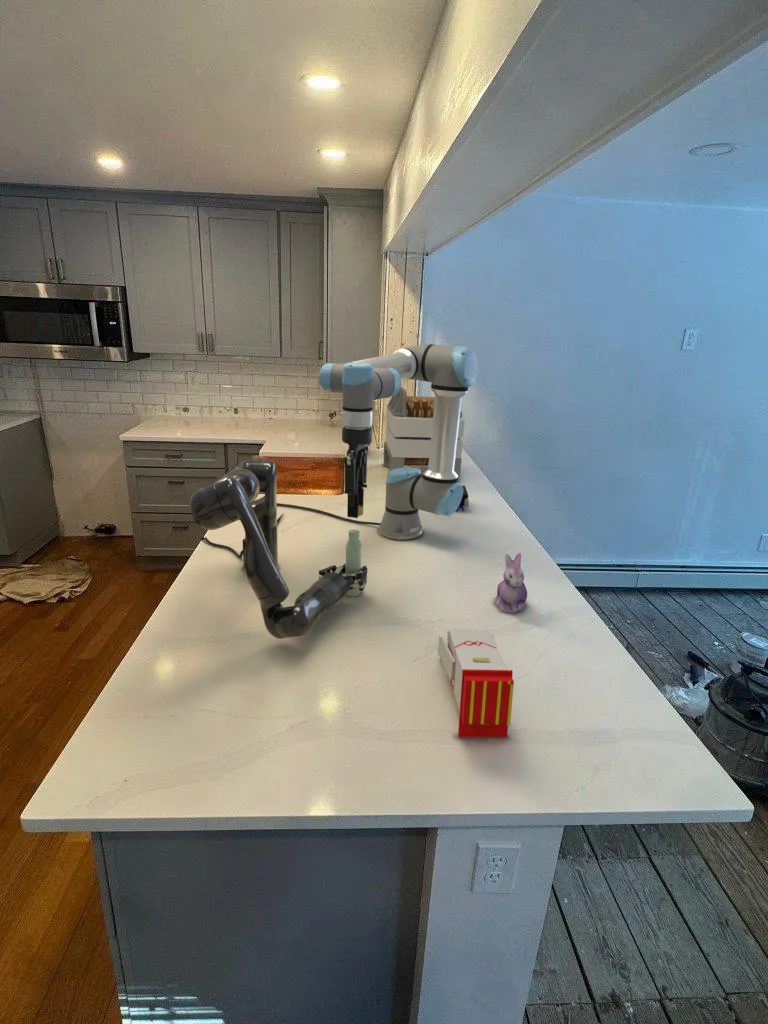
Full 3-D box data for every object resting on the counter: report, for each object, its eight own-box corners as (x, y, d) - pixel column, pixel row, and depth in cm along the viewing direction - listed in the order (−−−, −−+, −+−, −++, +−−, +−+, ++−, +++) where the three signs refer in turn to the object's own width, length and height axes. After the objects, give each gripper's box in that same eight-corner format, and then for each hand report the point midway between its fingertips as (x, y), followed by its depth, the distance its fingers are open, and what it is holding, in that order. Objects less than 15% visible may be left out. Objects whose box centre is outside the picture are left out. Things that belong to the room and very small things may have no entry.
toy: (488, 613, 130) (523, 677, 101) (484, 667, 133) (517, 744, 104) (435, 612, 130) (455, 676, 101) (432, 666, 133) (451, 743, 103)
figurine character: (468, 516, 224) (463, 500, 237) (471, 498, 221) (465, 483, 234) (452, 515, 224) (447, 499, 237) (453, 498, 220) (449, 482, 234)
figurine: (509, 617, 148) (516, 565, 143) (485, 599, 156) (491, 550, 151) (537, 610, 152) (544, 559, 147) (512, 593, 161) (519, 544, 156)
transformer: (382, 463, 289) (386, 382, 275) (445, 464, 293) (451, 384, 279) (390, 482, 257) (394, 392, 243) (460, 483, 261) (468, 394, 247)
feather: (290, 508, 223) (292, 504, 223) (272, 532, 197) (275, 527, 196) (286, 505, 223) (289, 501, 223) (268, 529, 197) (271, 525, 196)
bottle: (349, 587, 160) (350, 527, 154) (362, 591, 158) (364, 530, 152) (342, 593, 156) (343, 532, 150) (355, 597, 155) (357, 535, 149)
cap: (344, 513, 150) (344, 506, 149) (356, 510, 153) (357, 503, 152) (353, 517, 147) (354, 510, 147) (366, 514, 150) (366, 507, 149)
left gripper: (351, 585, 139) (381, 560, 154) (302, 572, 144) (335, 549, 159) (351, 612, 141) (380, 584, 156) (302, 598, 147) (335, 573, 162)
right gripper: (353, 419, 150) (351, 502, 158) (331, 432, 135) (331, 523, 143) (380, 421, 149) (377, 505, 157) (361, 435, 133) (359, 527, 141)
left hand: (357, 567), depth 158 cm, fingers closed on bottle, 4 cm apart
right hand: (355, 513), depth 150 cm, fingers closed on cap, 4 cm apart
